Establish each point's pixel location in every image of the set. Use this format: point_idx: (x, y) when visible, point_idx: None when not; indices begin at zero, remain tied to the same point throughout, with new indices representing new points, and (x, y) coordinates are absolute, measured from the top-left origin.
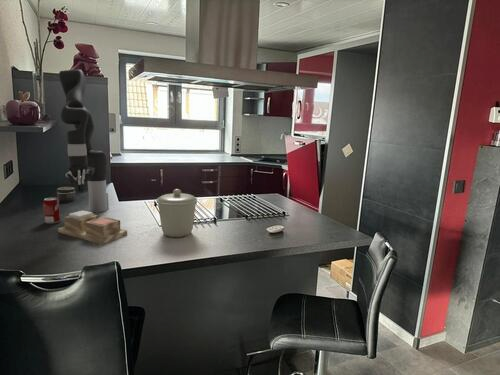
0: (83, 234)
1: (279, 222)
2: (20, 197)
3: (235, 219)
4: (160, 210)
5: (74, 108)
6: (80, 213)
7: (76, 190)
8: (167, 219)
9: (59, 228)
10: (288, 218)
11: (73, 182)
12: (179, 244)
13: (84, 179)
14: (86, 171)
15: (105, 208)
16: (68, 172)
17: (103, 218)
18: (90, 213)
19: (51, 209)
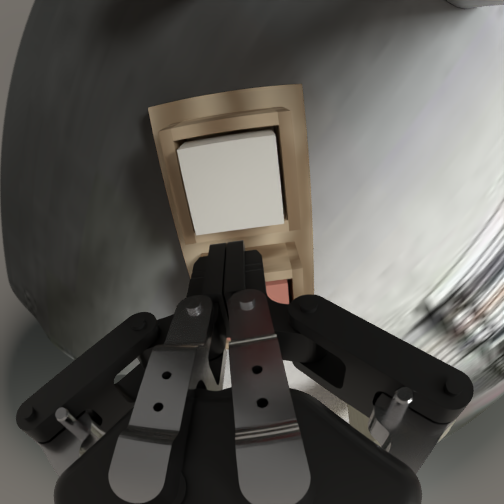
0: (188, 258)
1: (476, 394)
2: None
3: (488, 357)
4: (360, 426)
5: None
6: (226, 191)
7: (195, 268)
8: (349, 420)
9: (150, 115)
10: (495, 386)
11: (135, 371)
12: (322, 403)
13: (309, 353)
14: (385, 441)
15: (470, 7)
16: (57, 465)
17: (282, 287)
18: (266, 225)
19: None
